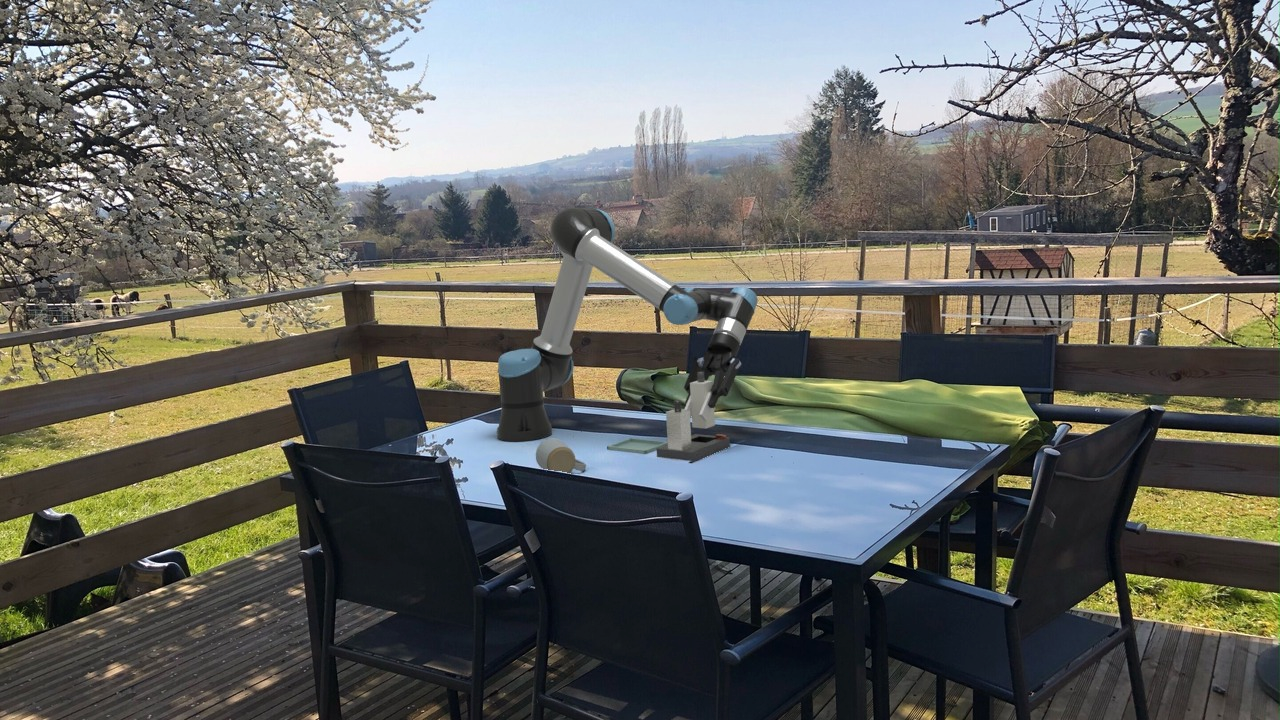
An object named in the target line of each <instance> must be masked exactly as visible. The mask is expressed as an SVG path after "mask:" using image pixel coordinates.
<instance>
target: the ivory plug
mask: <svg viewBox="0 0 1280 720" xmlns="http://www.w3.org/2000/svg"><path fill="white" fill-rule="evenodd" d="M697 374H698V381H695V382H691V383H690V394H691V411H692V416H691V427H692V428H694V429H695V428H697V429H706V430H707V429H709V428H712V427H714V426H716V420H715V407H714V408H712V409H711V411H710V414H709V416H708V419H707V421H704V420H703V419H702V418H701V416H700V415H699V414H700V411H701V409H702V406H703V404H704V401H705V399H706V397H707V394H708V392H711V393H713V392H712V391H711V390H712V388H713V383H714V380H707V381H704V372H701V371H700V372H697Z"/></svg>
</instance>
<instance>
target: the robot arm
mask: <svg viewBox="0 0 1280 720" xmlns="http://www.w3.org/2000/svg"><path fill="white" fill-rule="evenodd" d="M550 235H551V238H552V241H553V243H554V244H555V245H556V247H558V248H559V251H560V253H561V255H562V256H563V258H562V261H561V265H560V269H559V272H558V275H557V278H556V282H555V285H554V288H553V291H552V292H553V293H552V295H551V299H550V303H549V306H548V309H547V313H546V316H545V319H544V323H543V326H542V330H541V333H540V335H539V336H537V337H535V338H533V342H532V344H531V347H530V348H521V349H520V348H519V349H516V350H511V351H508V352H505V353H503V354H501V355H500V357H499V358H498V362H497V363H498V364H497V366H498V368H497V373H498V381H499V383H498V384H499V394H500V405H501V412H500V415H499V420H498V427H497V428H496V436H497V437H496V438H497V439H498V440H501V441H505V442H506V441H507V442H524V441H526V442H527V441H534V440H538V439H539V440H541V439H543V438H546V437H549V436H551V435H552V434H553V428H552V423H551V422H550V420H549V416H548V413H547V411H546V408H545V403H544V392H547V391H549V390H550V391H551V390H555V389H557V388H559V387H561V386H563V385H564V384H566V383H567V382H568V381H569V380H570V378H571V377H572V375H573V372H574V364H575V363H574V360H573V357H572V356H573V348H572V346H571V344H570V343H571V341H572V337H573V333H574V330H575V327H576V323H577V321H578V317H579V314H580V310H581V307H582V304H583V301H584V298H585V293H586V290H587V287H588V284H589V282H590V281H589V280H590V278H591V274H592V271H593V268H595V269H597V270H598V271H599V272H601V273H603V274H604V275H606V276H608V277H609V278H611V279H612V280H613V281H615V282H616V283H618V284H620V285H622V286H623V287H624V288H625V289H628V290H629V291H630V292H632V293H633V294H635V295H636V296H639V298H640V299H643V300H644V301H646V302H647V303H648V304H650V305H652V306H653V307H655V308H656V309H658V310H659V311H661V312H662V313H663V315H664V318H666V320H667V321H668V322H669V323H670V324H671V325H674V326H675V325H676V326H685V325H689V324H691V323H694V322H698V321H702V320H708V321H713V322H717V324H716V326H715V329H714V331H713V335H712V336H711V338H710V339H709V343H708V344H707V345H708V346H707V351H706V353H705V354H704V355H703V357H700V358H698V357H697V356H695V357H693V358H692V365H691V368H690V371H689V373H688V376H687V379H686V381H685V384H684V385H683V389H684V391H686V393H687V396H686V400H685V401H684V402H685V404H686V405H685V407H684V408H683V409H684V410H690V420H692V411H691V394H690V383H691V382H695V381H698V374H697V372H704V381H709V378H710V377H711V376H713V374H714V373H715V374H714V378H713V388H712V390H711V391H712V392H713V393H711V392H708V394H707V397H706V399H705V401H704V404H703V406H702V409H701V411H700V414H699V415H700V416H701V418H702V419H703V420H704V421H707V419H708V416H709V414H710V411H711V409H712V408H714V409H715V407H716V404H717V403H718V400H719V398H720V397H722V396H723V397H727V396H728V394H729V392H730V390H731V388H732V385H733V383H734V380H735V379H736V376H737V374H738V372H739V371H740V370H741V368H742V367H743V364H742V362H741V361H740V359H739V358H738V357H737V355H738V353H739V350H740V348H741V345H742V343H743V340H744V337H745V335H746V333H747V329H748V327H749V325H750V323H751V321H752V319H753V316H754V314H755V310H756V307H757V305H758V301H759V300H758V296H757V294H756V293H755V292H754V291H753V290H752V289H750V288H749V287H746V286H740V285H739V286H735V287H734V288H732V290H731V291H730V293H726V292H725V293H723V292H717V291H712V290H711V291H710V290H708V289H707V290H706V289H701V288H699V287H694V288H693V287H685V288H684V289H683V288H681V287H680V286H679V285H677V284H675V283H674V282H672V281H671V280H669V279H668V278H666V277H665V276H663V275H662V274H660V273H659V272H657V271H655V269H652V268H651V267H649V266H648V265H646V264H645V263H643V262H641V261H640V260H638V259H637V258H636V257H634V256H632V255H631V254H629V253H627V252H626V251H624V250H623V249H621V248H620V247H619V246H617V245H615V244H614V243H613V242H614V239H615V235H616V227H615V224H614V222H613V219H612V218H611V216H610V215H609V214H608V213H607V212H606V211H604V210H601V209H599V208H595V207H568V208H564V209H562V210H560V211H559V212H557V214H556V215H555V216H554V218H553V219H552V221H551V225H550ZM736 357H737V358H736Z"/></svg>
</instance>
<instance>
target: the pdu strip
mask: <svg viewBox="0 0 1280 720" xmlns="http://www.w3.org/2000/svg"><path fill="white" fill-rule="evenodd" d="M673 407H674V409H671V410H668V411H666V412H665V416H666V419H665V420H666V435H667V442H668V445H665V446H662V447H660V448H657V450H656V457H657V458H664V459H665V458H667V459H672V460H673V459H674V460H681V461H682V460H683V461H688V463H689V464H694V463H696V462H699V461H702V460H703V458H704V459H706V458H708V457H711V456H713V455H715V454H717V453H716V452H718V453H720V452H722V451H721V450H723V449H725V448H727V449H729V448H728V447H730V448H731V442H730V441H731V440H730V439H731V438H730V437H729V436H727V435H726V434H722V433H721V434H719V433H718V434H715V435H710V434H709V435H707V434H698V433H695V434H692V429H691V427H692V425H691V419H690V410H684V409H685V408H682V400H680V399H678V400H676V399H675V400H673ZM725 450H726V449H725ZM719 451H720V452H719ZM723 451H724V450H723ZM714 453H715V454H714ZM712 454H713V455H712ZM710 455H711V456H710ZM707 456H708V457H707ZM705 457H706V458H705Z"/></svg>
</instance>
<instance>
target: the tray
mask: <svg viewBox="0 0 1280 720" xmlns="http://www.w3.org/2000/svg"><path fill="white" fill-rule="evenodd" d="M665 445H668V441H665V440H664V441H663V440H656V439H655V440H654V439H653V440H652V439H644V438H635V437H634V438H633V437H630V438H626V439H624V440H621V441H618V442H616V443H612V444H609V445H607V446H606V450H608V451H615V452H624V453H632V454H640V455H641V454H642V455H647V454H650V453H653V452H657V448H660V447H662V446H665Z"/></svg>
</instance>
